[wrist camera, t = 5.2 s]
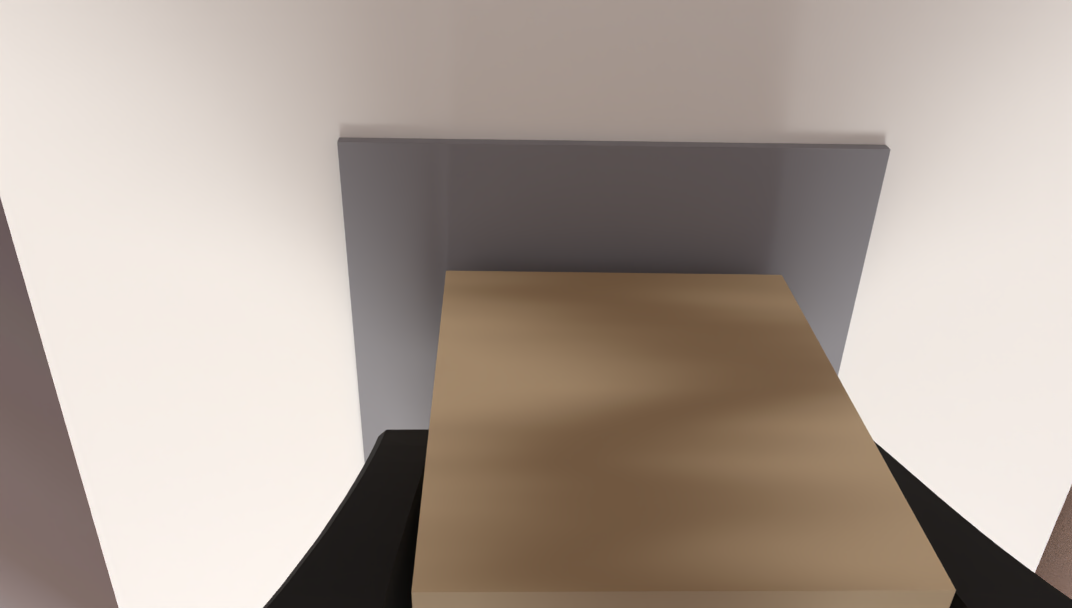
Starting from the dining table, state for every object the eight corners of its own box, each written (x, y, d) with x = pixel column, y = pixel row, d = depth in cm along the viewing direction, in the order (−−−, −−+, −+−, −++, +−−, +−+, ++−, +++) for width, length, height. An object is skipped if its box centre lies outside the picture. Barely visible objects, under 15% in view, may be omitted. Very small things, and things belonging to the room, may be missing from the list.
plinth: (1254, -235, 13) (1387, -241, 11) (939, 634, 22) (982, 716, 20) (-49, -280, 12) (-152, -293, 10) (180, 643, 21) (148, 729, 19)
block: (781, 275, 13) (956, 590, 8) (732, 520, 16) (843, 878, 11) (446, 270, 13) (411, 592, 8) (451, 520, 16) (427, 886, 11)
